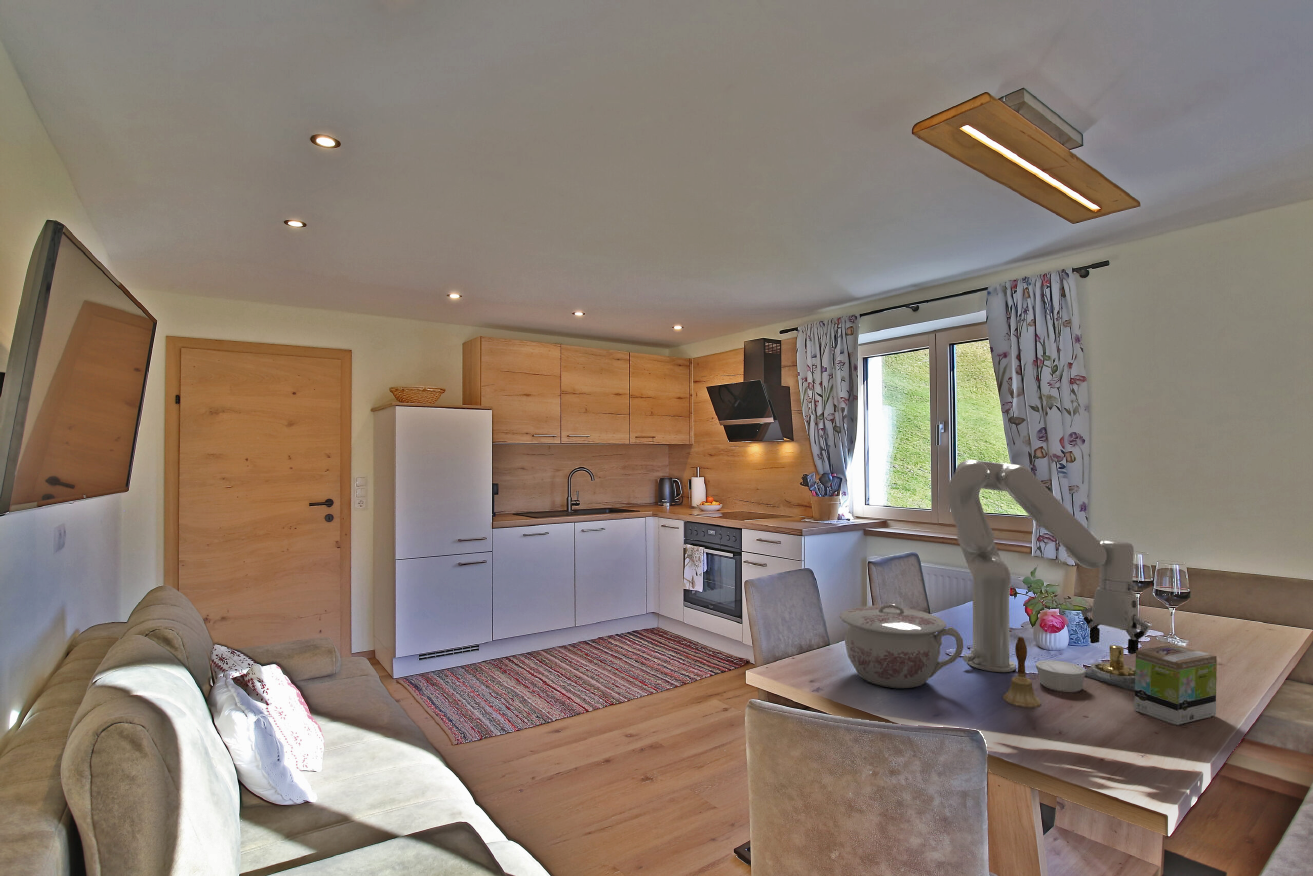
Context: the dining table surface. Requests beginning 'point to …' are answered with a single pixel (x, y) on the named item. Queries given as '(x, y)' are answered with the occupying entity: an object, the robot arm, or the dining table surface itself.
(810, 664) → the dining table surface
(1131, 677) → the tray
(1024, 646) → the hand bell
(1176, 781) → the dining table surface
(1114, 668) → the planet gear
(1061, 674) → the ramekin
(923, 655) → the chamber pot
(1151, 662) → the tea box
